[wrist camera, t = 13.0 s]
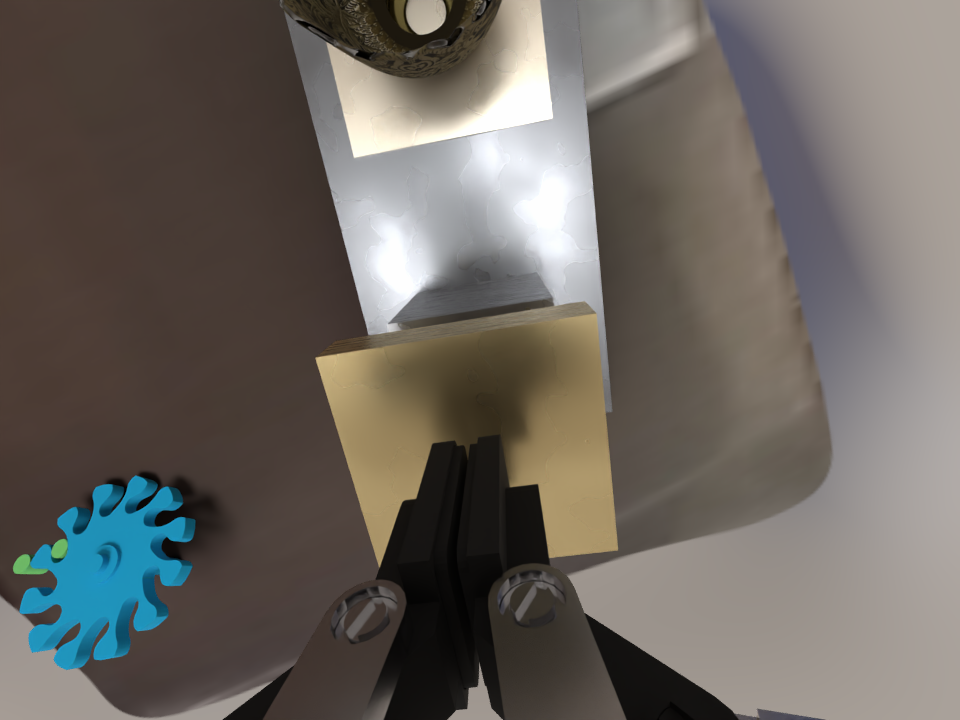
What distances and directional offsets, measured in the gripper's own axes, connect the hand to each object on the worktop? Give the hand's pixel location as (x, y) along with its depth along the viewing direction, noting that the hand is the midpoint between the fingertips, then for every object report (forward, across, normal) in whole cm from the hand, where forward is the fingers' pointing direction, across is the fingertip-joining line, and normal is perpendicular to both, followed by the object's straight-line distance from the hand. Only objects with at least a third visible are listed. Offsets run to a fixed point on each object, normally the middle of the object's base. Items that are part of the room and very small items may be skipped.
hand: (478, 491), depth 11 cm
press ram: (+9, 0, 0) cm, 9 cm away
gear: (+14, +24, +9) cm, 30 cm away
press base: (+14, 0, -8) cm, 16 cm away
